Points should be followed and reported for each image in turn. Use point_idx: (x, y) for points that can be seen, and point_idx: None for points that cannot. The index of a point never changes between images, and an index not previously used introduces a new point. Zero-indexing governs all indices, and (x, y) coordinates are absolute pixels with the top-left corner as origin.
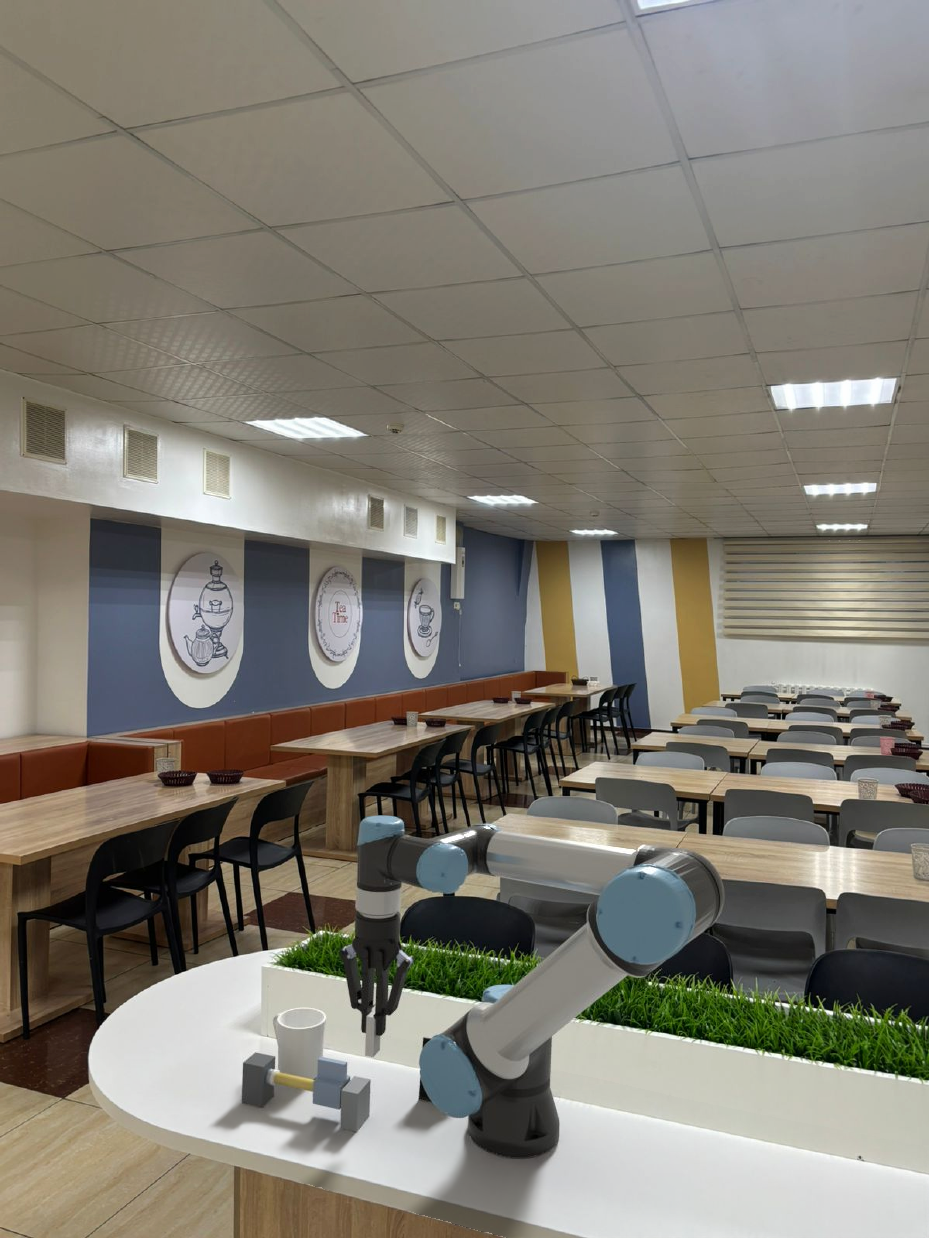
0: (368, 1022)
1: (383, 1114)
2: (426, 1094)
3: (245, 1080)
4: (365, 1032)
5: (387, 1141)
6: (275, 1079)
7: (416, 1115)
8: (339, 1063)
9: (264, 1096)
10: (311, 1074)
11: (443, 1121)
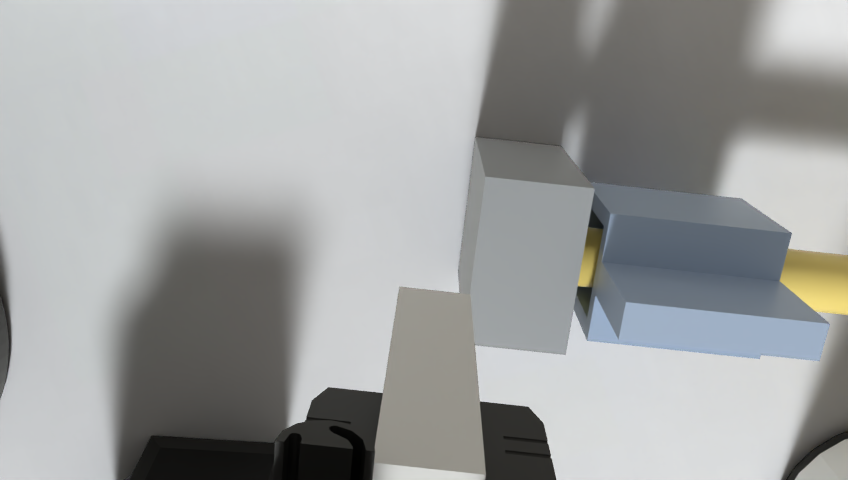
0: (455, 433)
1: None
2: (245, 462)
3: None
4: (492, 405)
5: (311, 99)
6: None
7: (253, 329)
8: (665, 307)
9: None
10: (819, 478)
11: (123, 314)
